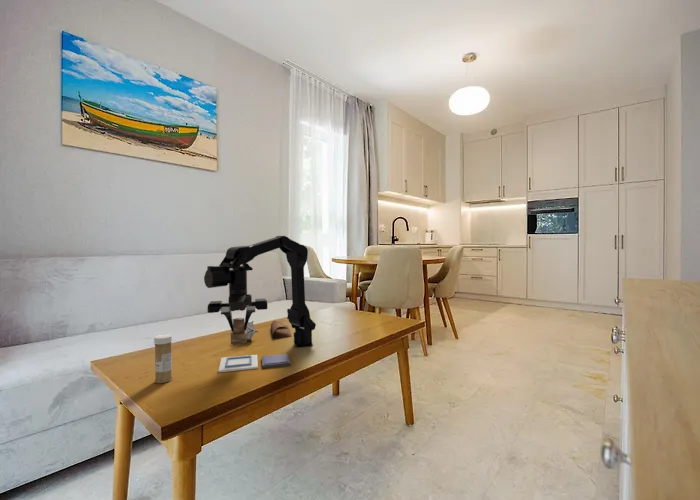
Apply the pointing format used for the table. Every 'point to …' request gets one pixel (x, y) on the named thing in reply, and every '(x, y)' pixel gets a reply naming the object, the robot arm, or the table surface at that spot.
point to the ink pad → (275, 361)
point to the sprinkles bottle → (163, 358)
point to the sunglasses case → (280, 330)
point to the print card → (238, 363)
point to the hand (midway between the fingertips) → (238, 330)
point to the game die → (250, 330)
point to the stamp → (238, 332)
